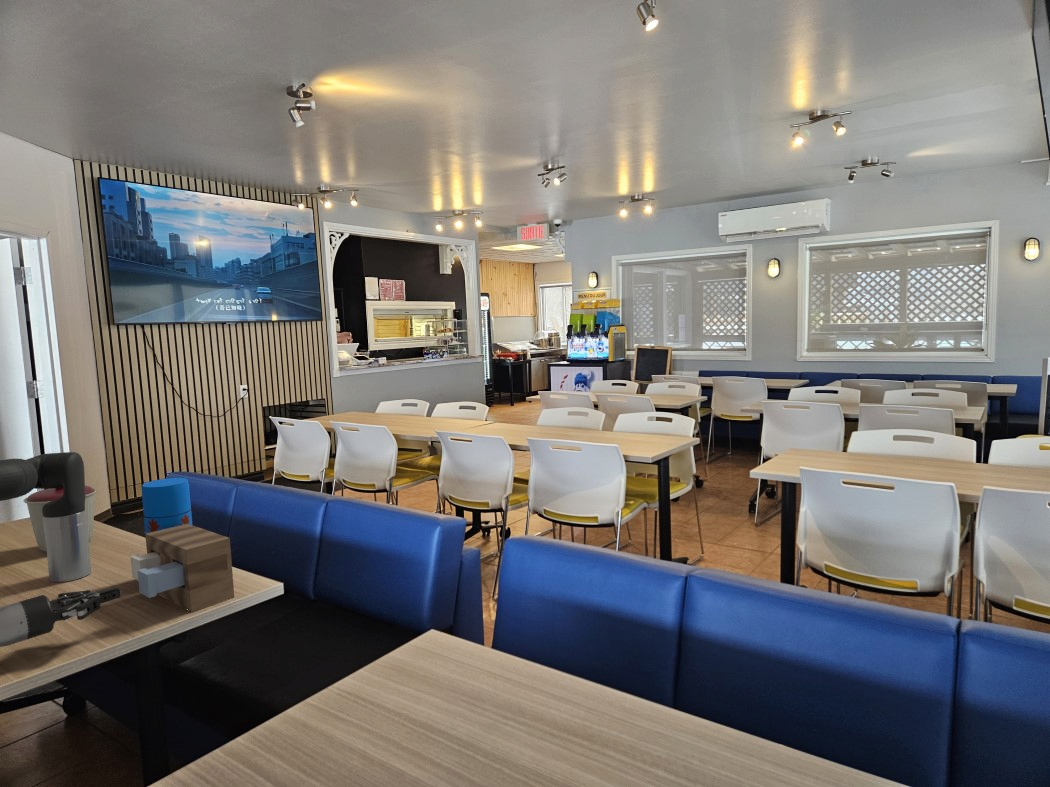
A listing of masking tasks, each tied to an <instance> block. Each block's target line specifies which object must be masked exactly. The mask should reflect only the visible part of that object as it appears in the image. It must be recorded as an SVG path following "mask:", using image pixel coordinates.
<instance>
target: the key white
mask: <svg viewBox="0 0 1050 787" xmlns="http://www.w3.org/2000/svg"><path fill="white" fill-rule="evenodd" d="M158 566H161V558H160V553H158V552H152V553H148V554H147V553H144V554H142V555H139V554H134V555H131V556H130V567H131V576H132V578H133V579H135V580H136V581H138V570H140V569H144V568H145V569H151V568H154V567H158Z"/></svg>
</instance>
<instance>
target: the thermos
mask: <svg viewBox="0 0 1050 787" xmlns="http://www.w3.org/2000/svg"><path fill="white" fill-rule="evenodd" d="M190 492H191V491H190V485H189V480H188V478H184V477H172V478H164V479H163V478H162V479H155V480H151V481H148V482H144V483H143V484H142V486H141V499H142V509H143V510H142V511H143V521H144V531H145V534H146V533H150V532H155V531H159V530H163V529H167V528H171V527H175V526H179V525H183V524H190V525H193V517H192V516H193V515H192V507H191V506H192V504H191V496H190V495H191V494H190Z"/></svg>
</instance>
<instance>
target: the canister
mask: <svg viewBox="0 0 1050 787" xmlns="http://www.w3.org/2000/svg"><path fill="white" fill-rule="evenodd" d="M63 493H64V488H53V489H40V490H39V491H35V492H33V493H31V494H30V495H28V497H26V498H24V499H23V502H24V503H25V504H26V506H27V511H28V513H29V518H30V523H31V526H32V531H33V534H34V537H35V541H36V544H37V546H38V548H39V550H41V551H43V552H44V553H47V550H46V541H45V532H44V523H43V514H42V507H43V506H44V505H45V504H46V503H48V502H51V501H53V500H56V499H58V498H60V497H61V496H63ZM95 493H97V489H96V488H93V487H91V486H88V485H85V512H86V521H87V531H88V541H89V543H90V542H91V541H92V538H93V535H94V534H93V533H94V522H95V520H94V519H95Z"/></svg>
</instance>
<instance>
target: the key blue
mask: <svg viewBox="0 0 1050 787" xmlns="http://www.w3.org/2000/svg"><path fill="white" fill-rule="evenodd" d="M137 581H138V589H139V594H141V595H142V596H145V597H147V598H149V599H150V598H154V597H157V596H158V595H157V593H160V592H163V591H166V590H170V589H173V588H176V587H179V586H182V585H185V581H184V570H183V563H182V562H179V561H175V562H172V563H168V564H165V565H161V566H158V567H154V568H151V569H145V568H144V569H140V570H138V580H137Z"/></svg>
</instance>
